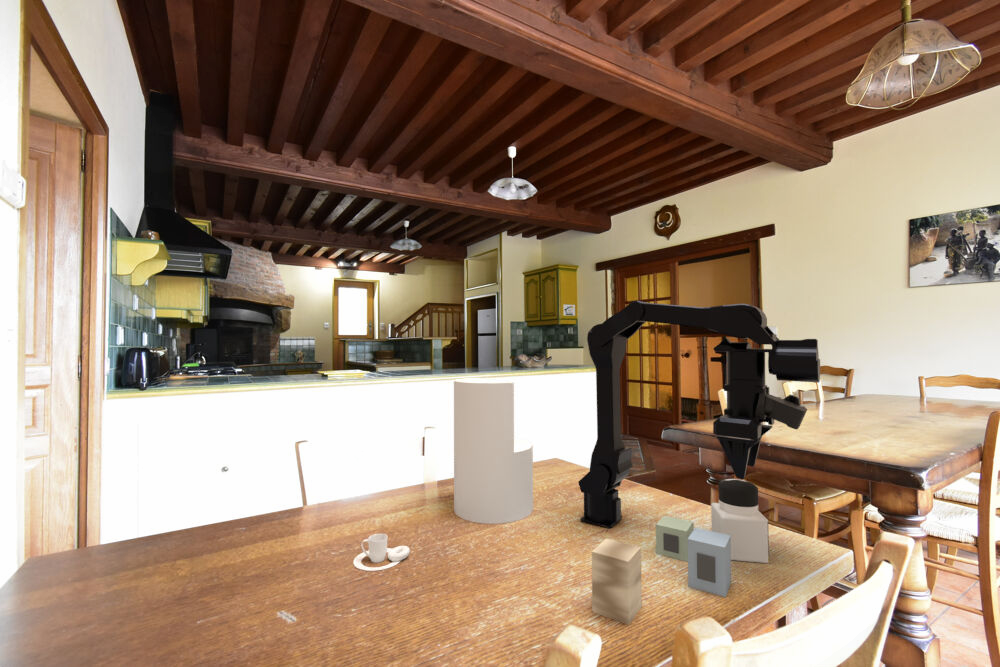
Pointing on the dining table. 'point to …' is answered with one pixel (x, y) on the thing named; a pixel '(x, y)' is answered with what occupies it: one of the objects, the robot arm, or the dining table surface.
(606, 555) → the beech block
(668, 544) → the sage numbered block
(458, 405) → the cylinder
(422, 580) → the dining table surface
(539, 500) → the dining table surface
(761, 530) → the medicine bottle
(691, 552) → the slate numbered block
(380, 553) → the teacup and saucer
